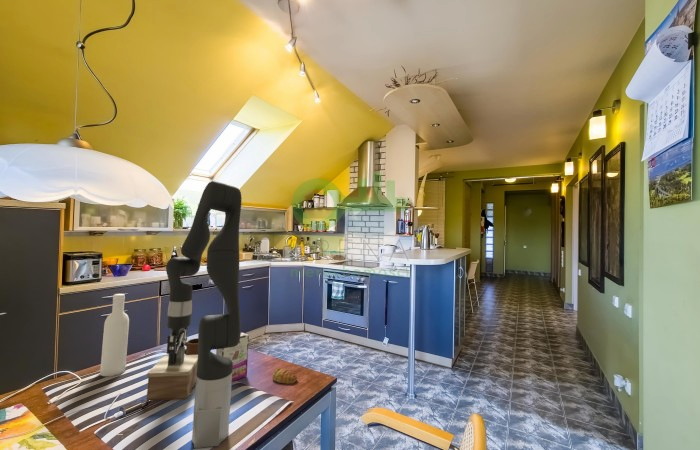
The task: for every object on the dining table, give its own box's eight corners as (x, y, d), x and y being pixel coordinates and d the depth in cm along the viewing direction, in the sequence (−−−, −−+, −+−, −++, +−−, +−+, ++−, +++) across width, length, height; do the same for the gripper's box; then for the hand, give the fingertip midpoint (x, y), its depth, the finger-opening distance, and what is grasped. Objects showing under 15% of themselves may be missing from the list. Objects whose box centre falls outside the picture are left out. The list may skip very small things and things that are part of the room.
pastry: (300, 379, 121) (300, 369, 121) (291, 386, 114) (292, 376, 114) (279, 374, 124) (280, 365, 124) (270, 381, 117) (270, 371, 118)
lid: (188, 377, 102) (190, 356, 102) (146, 379, 99) (148, 357, 100) (200, 360, 116) (201, 341, 117) (163, 361, 114) (165, 342, 114)
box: (186, 399, 102) (188, 374, 102) (146, 401, 99) (148, 376, 100) (197, 379, 116) (199, 358, 116) (162, 381, 113) (164, 359, 113)
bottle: (119, 376, 115) (125, 296, 116) (95, 377, 114) (101, 296, 115) (129, 367, 123) (135, 292, 124) (107, 368, 121) (113, 292, 123)
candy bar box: (239, 372, 123) (242, 331, 124) (247, 376, 120) (249, 334, 121) (213, 382, 114) (216, 338, 115) (220, 386, 111) (223, 341, 112)
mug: (170, 366, 126) (172, 343, 126) (181, 358, 134) (182, 337, 134) (199, 367, 126) (201, 344, 126) (208, 360, 133) (209, 338, 134)
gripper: (185, 318, 102) (181, 367, 102) (196, 308, 116) (193, 351, 116) (160, 318, 101) (156, 368, 100) (175, 308, 115) (171, 352, 114)
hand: (176, 359), depth 108 cm, fingers open, 7 cm apart
